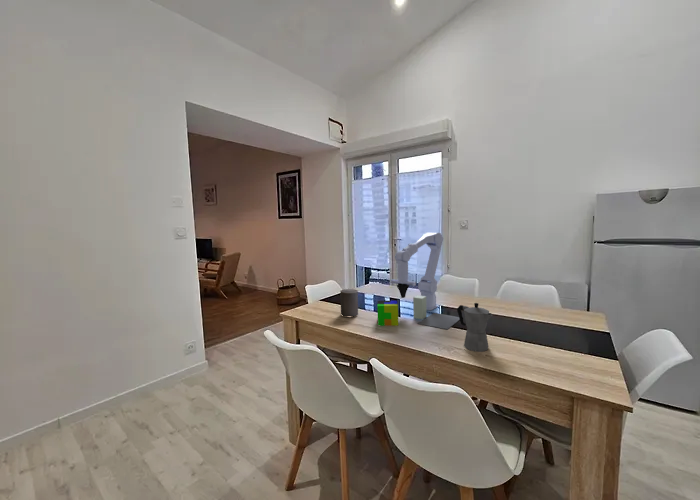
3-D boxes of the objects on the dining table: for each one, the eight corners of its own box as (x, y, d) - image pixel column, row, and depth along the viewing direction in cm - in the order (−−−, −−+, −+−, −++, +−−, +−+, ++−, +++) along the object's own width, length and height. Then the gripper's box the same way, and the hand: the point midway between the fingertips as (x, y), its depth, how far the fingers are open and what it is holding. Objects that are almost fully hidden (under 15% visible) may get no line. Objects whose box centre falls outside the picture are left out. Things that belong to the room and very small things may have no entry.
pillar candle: (338, 317, 165) (337, 290, 164) (344, 311, 175) (343, 286, 173) (355, 318, 163) (355, 290, 161) (360, 312, 172) (359, 286, 170)
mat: (434, 313, 166) (434, 312, 166) (461, 318, 157) (461, 317, 157) (417, 323, 151) (417, 323, 151) (447, 329, 141) (447, 328, 141)
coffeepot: (498, 349, 118) (499, 304, 117) (484, 356, 113) (484, 308, 112) (464, 337, 131) (464, 296, 130) (450, 343, 126) (450, 300, 124)
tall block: (417, 315, 164) (417, 295, 163) (426, 316, 161) (426, 296, 160) (413, 317, 160) (412, 297, 159) (422, 319, 157) (422, 298, 156)
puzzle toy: (397, 319, 159) (396, 300, 158) (398, 325, 149) (398, 305, 148) (378, 319, 160) (377, 300, 159) (377, 325, 150) (377, 305, 149)
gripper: (387, 272, 166) (387, 297, 167) (411, 275, 157) (411, 300, 158) (394, 271, 171) (394, 294, 173) (417, 273, 162) (417, 297, 164)
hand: (403, 297), depth 166 cm, fingers closed
